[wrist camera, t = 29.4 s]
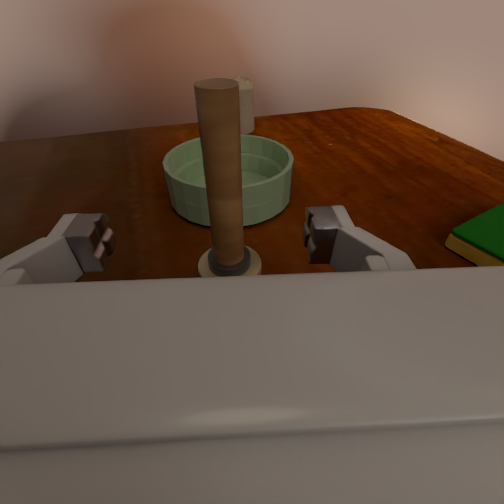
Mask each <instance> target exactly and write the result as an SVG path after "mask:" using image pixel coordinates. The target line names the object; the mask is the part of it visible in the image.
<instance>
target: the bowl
mask: <svg viewBox="0 0 504 504" xmlns="http://www.w3.org/2000/svg"><path fill="white" fill-rule="evenodd" d="M240 136H241V169H242V201H243V226H247V225H252V224H257V223H260V222H262V221H265V220H268V219H270V218H272V217H274V216H275V215H277V214H278V213H280V212H281V211H283V209H284V208H285V207H286V206H287V204H288V203H289V200H290V196H291V186H292V174H293V163H294V158H293V155H292V153H291V151H290V150H289V149H288V148H287V147H286V146H284V145H282V144H281V143H279V142H277V141H274V140H271V139H268V138H265V137H260V136H254V135H245V134H240ZM163 167H164V172H165V177H166V181H167V186H168V191H169V196H170V200H171V205H172V207H173V208H174V209H175V211H176V212H177V213H178V214H179V215H181V216H182V217H184V218H186V219H187V220H189V221H192V222H195V223H198V224H201V225H205V226H210V218H209V210H208V201H207V193H206V184H205V176H204V167H203V159H202V150H201V142H200V138H196V139H193V140H190V141H187V142H184V143H182V144H180V145H178V146H176V147H174V148H173V149H171V150H170V151H169V152H168V153H167V154H166V155H165V158H164V160H163Z"/></svg>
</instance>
